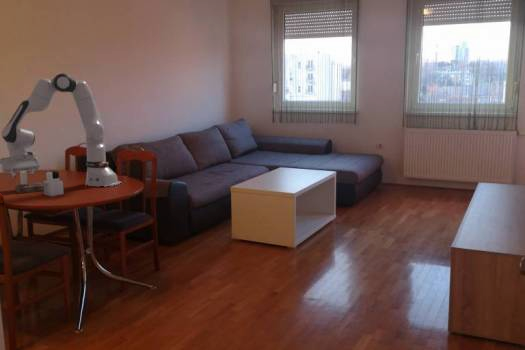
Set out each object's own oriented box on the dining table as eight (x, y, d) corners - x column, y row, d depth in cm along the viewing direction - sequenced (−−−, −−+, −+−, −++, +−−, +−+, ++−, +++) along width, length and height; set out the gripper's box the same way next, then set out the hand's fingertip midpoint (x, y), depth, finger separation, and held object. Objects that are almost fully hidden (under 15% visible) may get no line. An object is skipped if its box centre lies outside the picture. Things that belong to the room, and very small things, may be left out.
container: (56, 192, 305) (55, 170, 303) (63, 194, 300) (62, 171, 298) (43, 194, 299) (42, 171, 297) (51, 196, 294) (49, 173, 292)
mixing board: (50, 186, 321) (50, 181, 321) (55, 189, 312) (55, 184, 312) (15, 190, 310) (14, 184, 309) (19, 193, 301) (18, 187, 300)
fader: (27, 184, 310) (26, 170, 309) (28, 185, 306) (28, 172, 305) (19, 185, 308) (18, 171, 306) (21, 186, 304) (20, 172, 302)
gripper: (-1, 155, 304) (4, 174, 298) (37, 152, 316) (42, 170, 310) (-2, 161, 309) (3, 180, 303) (35, 158, 320) (41, 177, 314)
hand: (23, 175), depth 306 cm, fingers open, 8 cm apart
